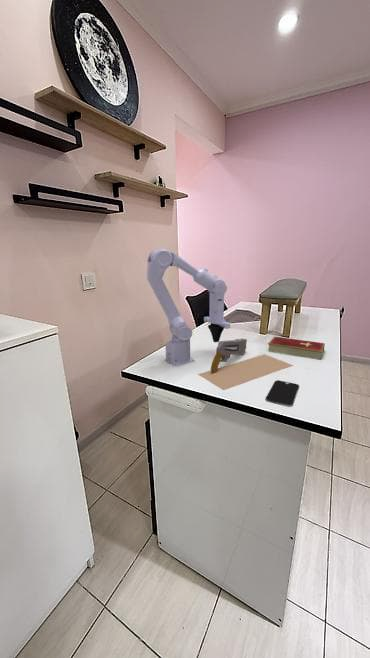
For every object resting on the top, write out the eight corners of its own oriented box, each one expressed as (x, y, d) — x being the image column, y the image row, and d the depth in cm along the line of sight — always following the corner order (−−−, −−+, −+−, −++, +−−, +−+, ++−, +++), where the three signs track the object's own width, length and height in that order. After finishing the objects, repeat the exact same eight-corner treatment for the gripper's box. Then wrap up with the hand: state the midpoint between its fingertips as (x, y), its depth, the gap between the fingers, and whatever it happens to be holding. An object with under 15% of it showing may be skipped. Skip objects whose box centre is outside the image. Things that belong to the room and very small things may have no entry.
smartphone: (300, 384, 89) (292, 406, 77) (299, 386, 90) (291, 408, 77) (275, 379, 93) (264, 399, 81) (275, 381, 93) (264, 401, 81)
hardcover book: (274, 344, 130) (274, 335, 129) (323, 351, 119) (324, 342, 118) (267, 352, 120) (267, 342, 119) (320, 361, 109) (321, 351, 108)
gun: (242, 374, 117) (249, 339, 118) (214, 373, 97) (222, 331, 98) (235, 372, 119) (242, 338, 120) (206, 371, 99) (214, 330, 100)
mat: (223, 391, 87) (223, 389, 87) (198, 375, 99) (198, 374, 99) (292, 366, 105) (293, 365, 105) (264, 355, 116) (264, 354, 116)
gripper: (236, 311, 107) (235, 344, 111) (213, 305, 119) (212, 335, 123) (222, 313, 104) (221, 347, 107) (199, 307, 115) (200, 338, 119)
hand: (216, 341), depth 115 cm, fingers closed
